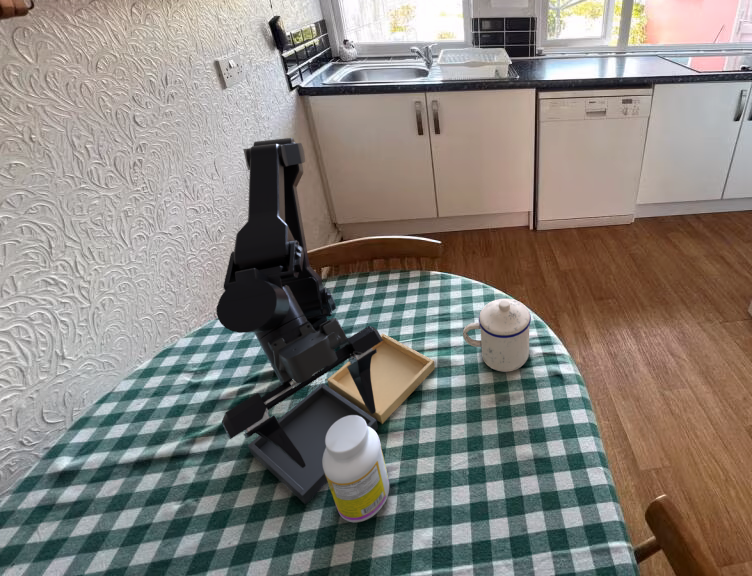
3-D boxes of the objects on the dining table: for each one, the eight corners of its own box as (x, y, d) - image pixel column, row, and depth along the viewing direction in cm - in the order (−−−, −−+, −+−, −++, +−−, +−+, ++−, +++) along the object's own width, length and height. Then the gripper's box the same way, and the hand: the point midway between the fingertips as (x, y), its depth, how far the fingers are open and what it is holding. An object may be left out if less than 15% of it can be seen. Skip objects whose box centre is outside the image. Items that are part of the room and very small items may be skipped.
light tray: (329, 387, 69) (326, 379, 68) (384, 340, 79) (382, 333, 78) (382, 424, 63) (380, 415, 62) (435, 368, 73) (434, 360, 72)
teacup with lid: (528, 334, 80) (528, 285, 75) (532, 372, 72) (533, 321, 67) (465, 336, 79) (462, 288, 74) (463, 376, 71) (459, 324, 66)
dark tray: (251, 453, 59) (247, 445, 58) (324, 391, 69) (322, 382, 68) (305, 504, 53) (302, 496, 52) (378, 428, 63) (376, 419, 62)
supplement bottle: (348, 469, 57) (330, 406, 52) (396, 470, 57) (383, 407, 52) (327, 524, 51) (305, 460, 46) (380, 526, 51) (364, 461, 45)
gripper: (195, 363, 41) (267, 508, 39) (364, 276, 54) (425, 383, 52) (198, 376, 49) (258, 497, 47) (344, 298, 62) (396, 392, 60)
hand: (341, 438), depth 51 cm, fingers open, 9 cm apart
